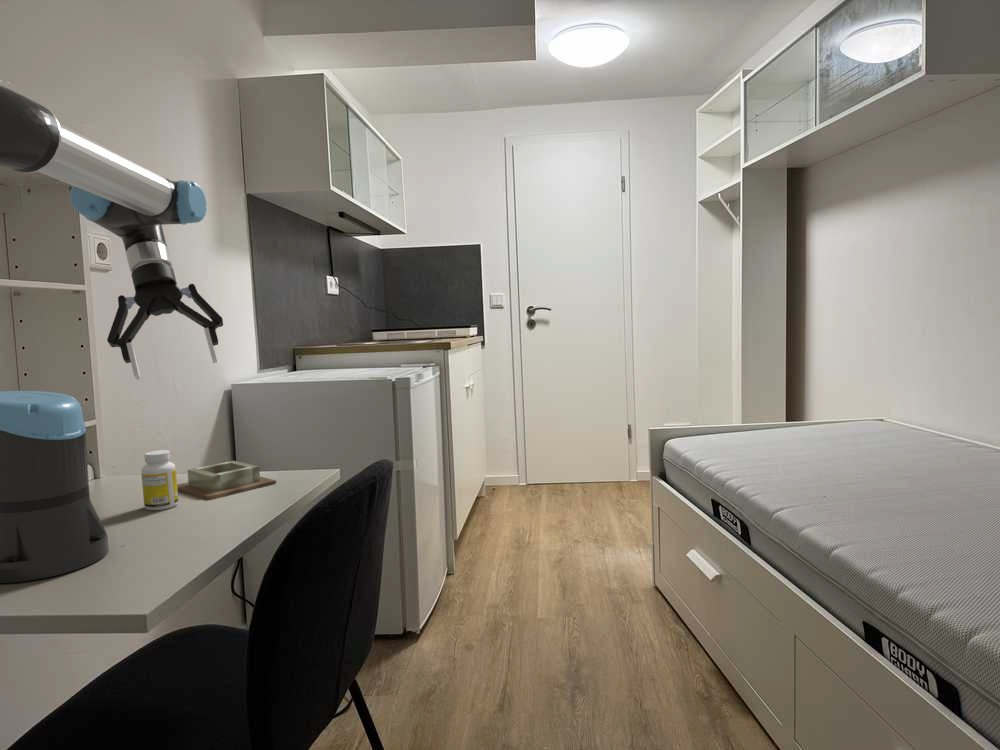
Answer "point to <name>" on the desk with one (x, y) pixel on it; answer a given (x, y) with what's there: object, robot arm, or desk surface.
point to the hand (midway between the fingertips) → (176, 368)
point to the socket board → (223, 480)
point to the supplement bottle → (159, 481)
